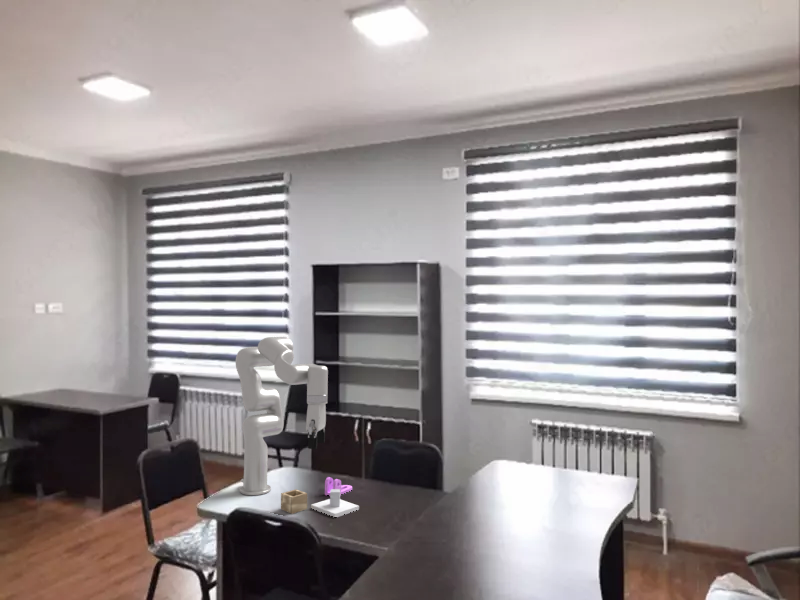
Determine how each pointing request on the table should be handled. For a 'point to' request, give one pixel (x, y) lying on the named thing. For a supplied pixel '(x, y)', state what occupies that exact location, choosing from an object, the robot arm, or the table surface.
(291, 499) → the wooden collar
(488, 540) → the table surface
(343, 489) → the bracket
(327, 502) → the plate
